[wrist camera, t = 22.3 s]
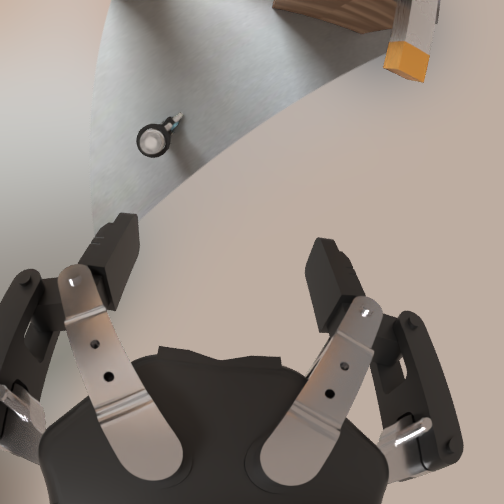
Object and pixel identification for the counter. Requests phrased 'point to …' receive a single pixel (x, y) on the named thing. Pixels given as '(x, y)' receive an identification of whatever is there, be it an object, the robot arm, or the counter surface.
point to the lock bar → (411, 38)
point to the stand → (348, 12)
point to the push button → (156, 137)
